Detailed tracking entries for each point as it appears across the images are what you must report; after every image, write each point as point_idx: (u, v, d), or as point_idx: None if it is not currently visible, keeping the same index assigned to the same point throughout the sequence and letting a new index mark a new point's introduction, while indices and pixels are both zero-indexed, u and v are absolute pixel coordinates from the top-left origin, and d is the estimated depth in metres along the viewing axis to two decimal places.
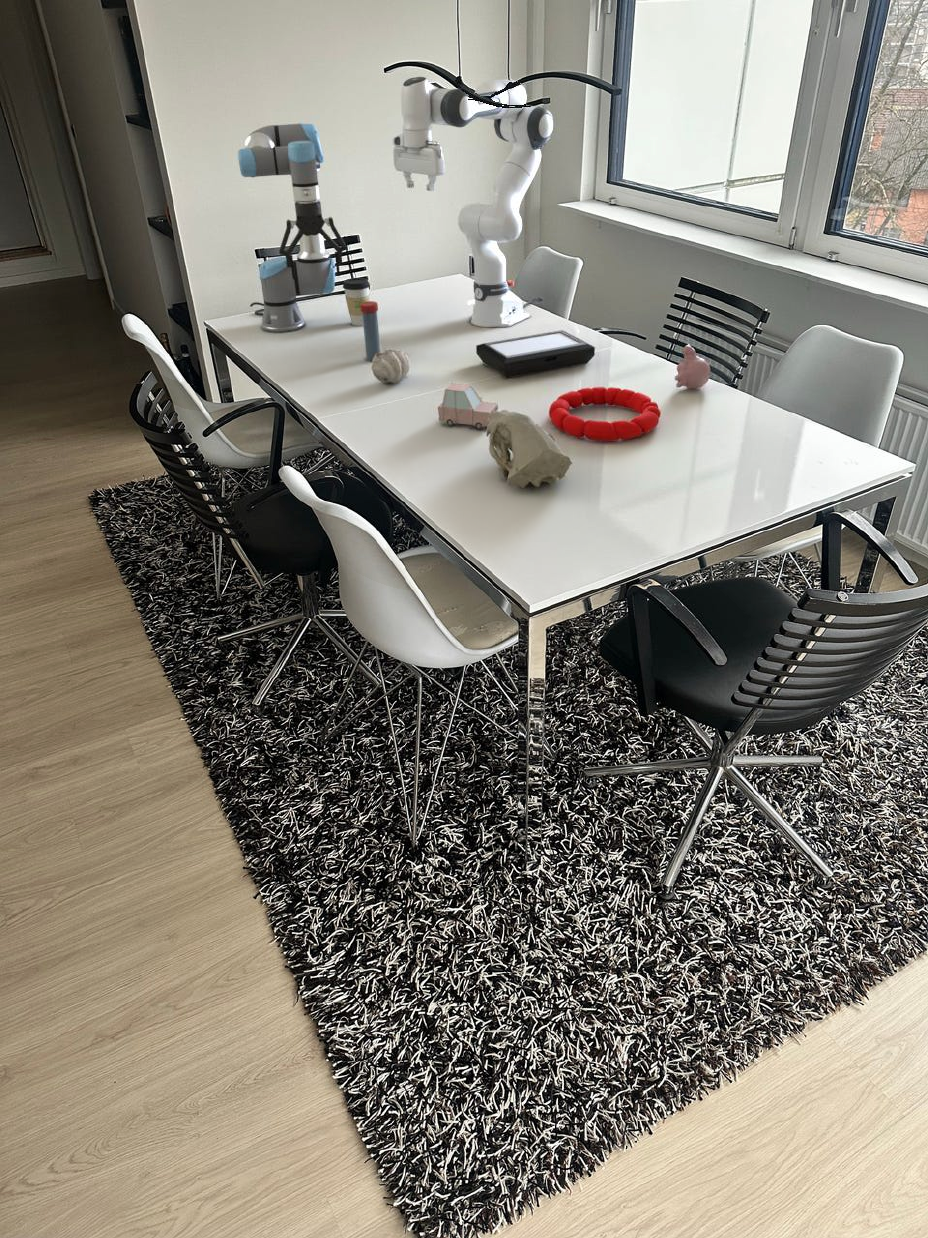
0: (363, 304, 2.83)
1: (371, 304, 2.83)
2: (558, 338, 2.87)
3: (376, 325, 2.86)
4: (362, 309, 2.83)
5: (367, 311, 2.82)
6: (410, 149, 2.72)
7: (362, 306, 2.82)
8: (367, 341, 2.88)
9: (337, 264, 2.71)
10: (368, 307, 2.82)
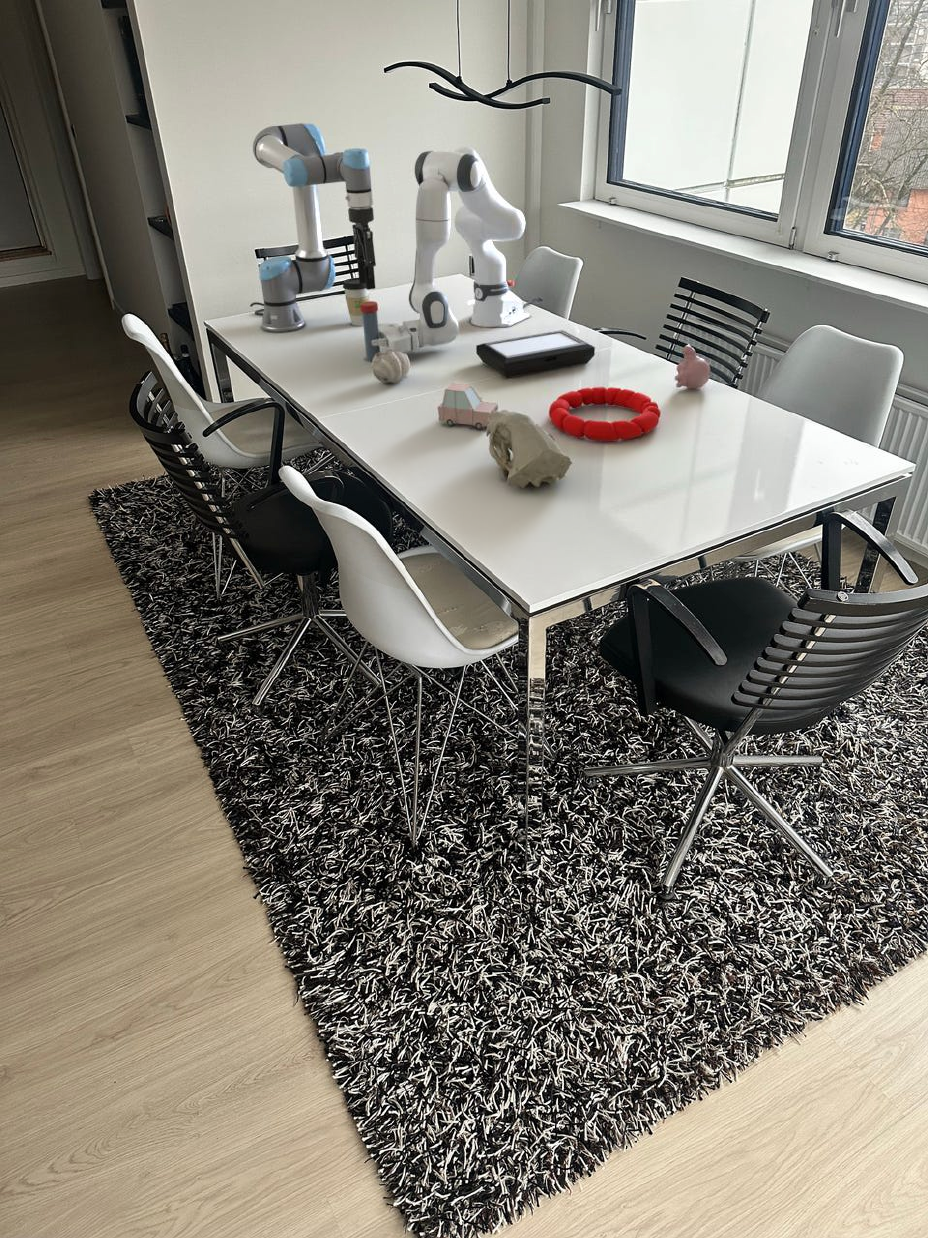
0: (363, 304, 2.83)
1: (371, 304, 2.83)
2: (558, 338, 2.87)
3: (376, 325, 2.86)
4: (362, 309, 2.83)
5: (367, 311, 2.82)
6: None
7: (362, 306, 2.82)
8: (367, 341, 2.88)
9: (365, 278, 2.75)
10: (368, 307, 2.82)
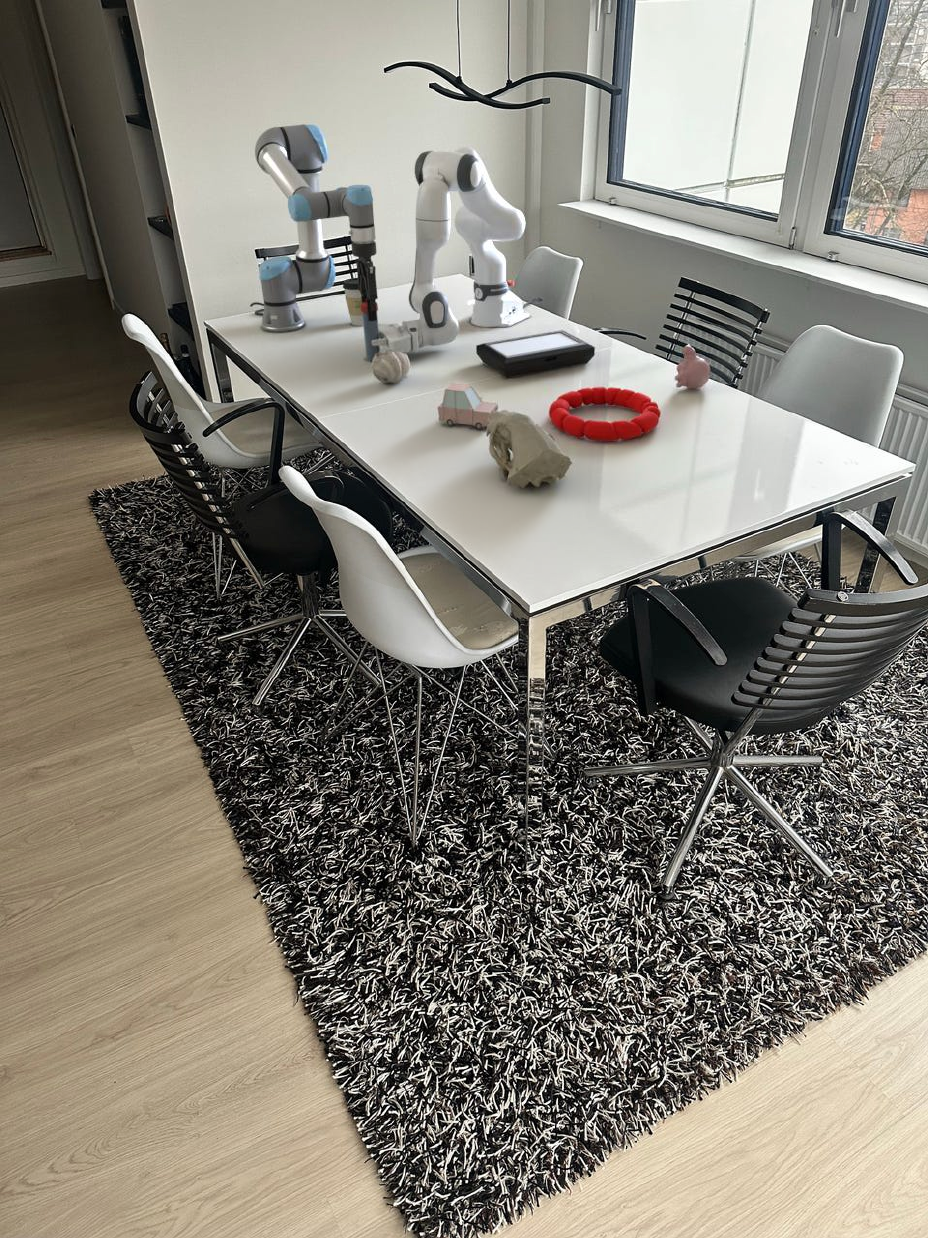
0: (363, 304, 2.83)
1: None
2: (558, 338, 2.87)
3: (376, 325, 2.86)
4: (362, 309, 2.83)
5: (367, 311, 2.82)
6: None
7: (362, 306, 2.82)
8: (367, 341, 2.88)
9: (367, 309, 2.82)
10: None
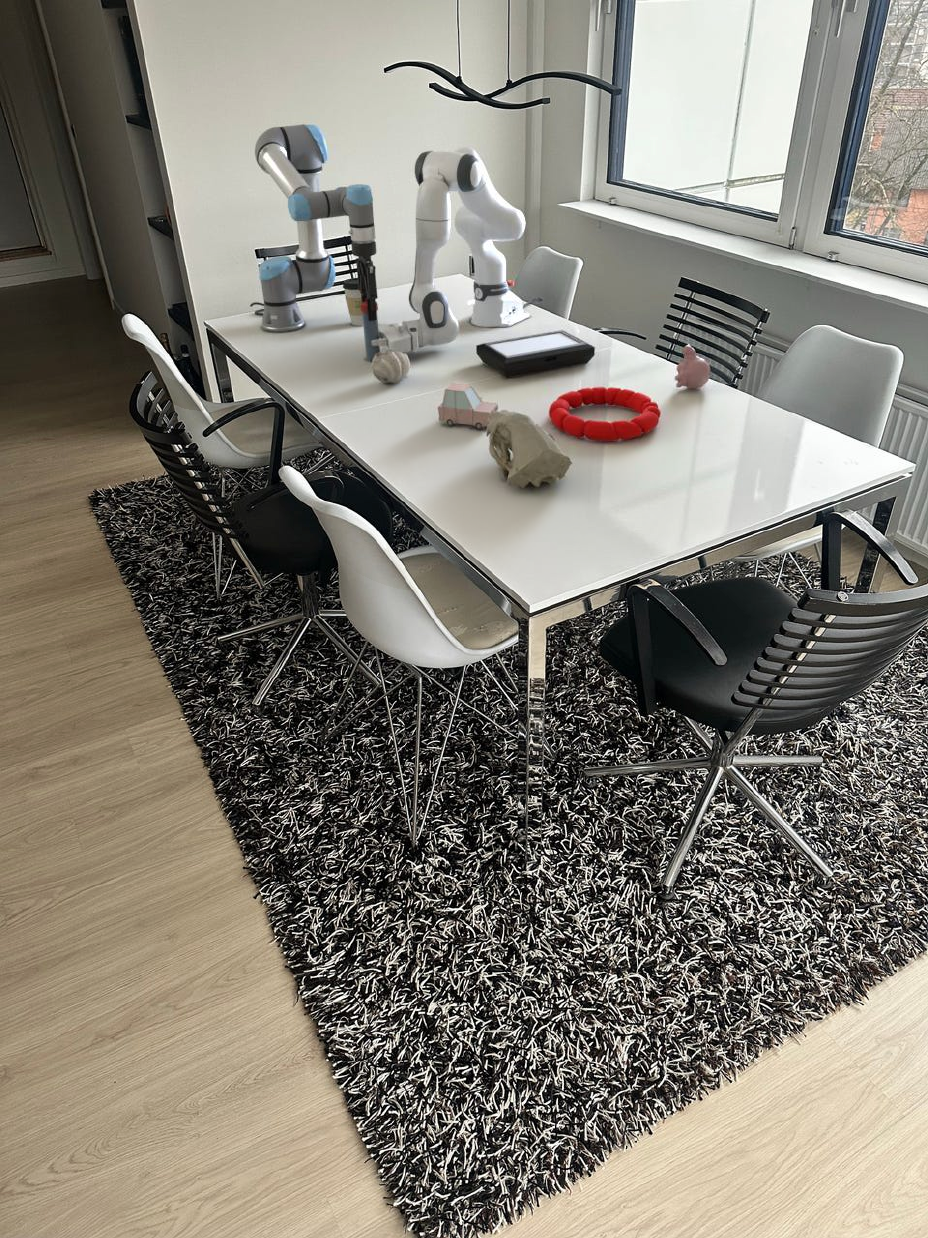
0: None
1: None
2: (558, 338, 2.87)
3: (376, 325, 2.86)
4: None
5: (377, 308, 2.84)
6: None
7: None
8: (367, 341, 2.88)
9: (367, 309, 2.81)
10: (377, 304, 2.84)
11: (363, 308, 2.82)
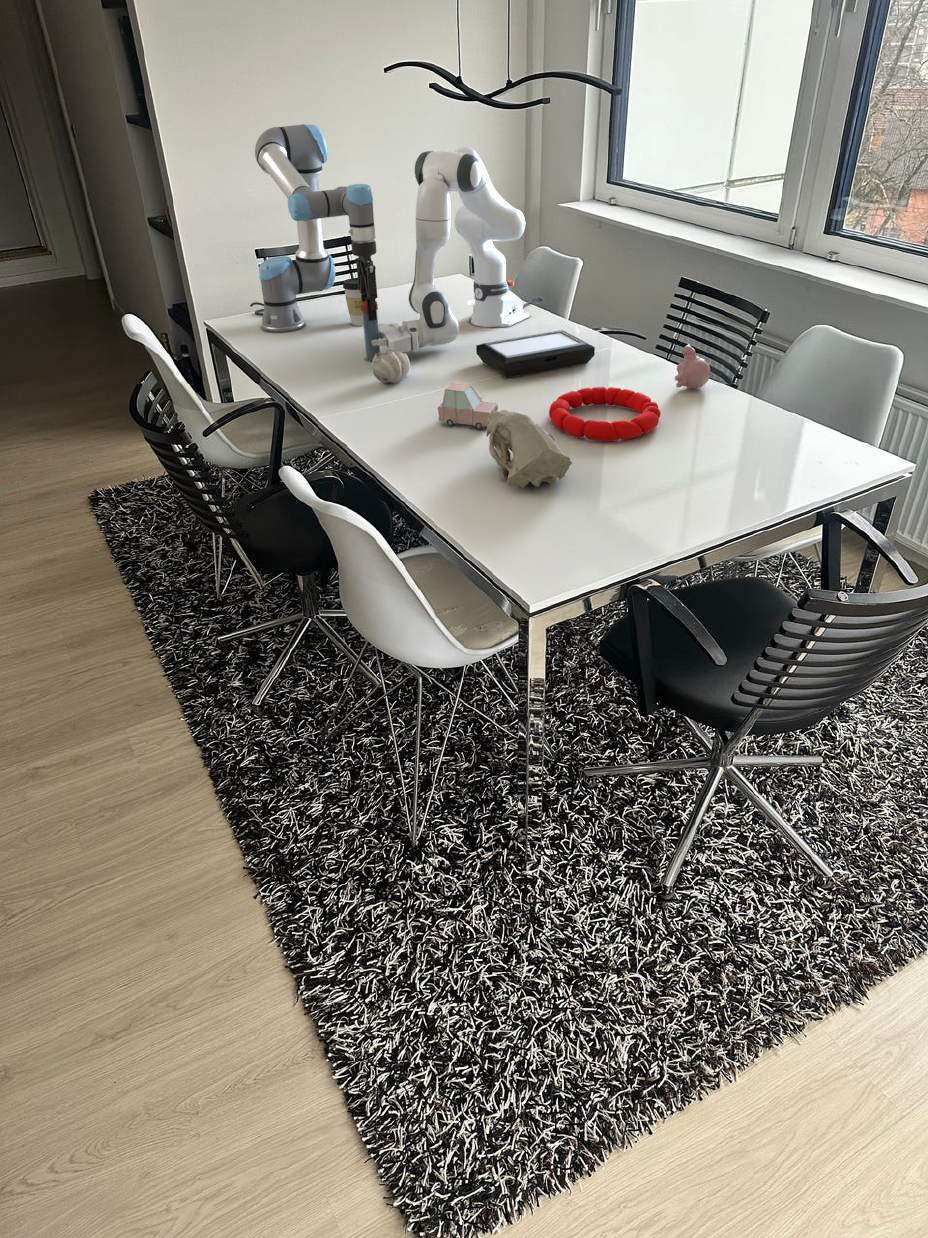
0: None
1: (365, 301, 2.84)
2: (558, 338, 2.87)
3: (376, 325, 2.86)
4: None
5: None
6: None
7: None
8: (367, 341, 2.88)
9: (367, 309, 2.81)
10: None
11: (376, 307, 2.83)
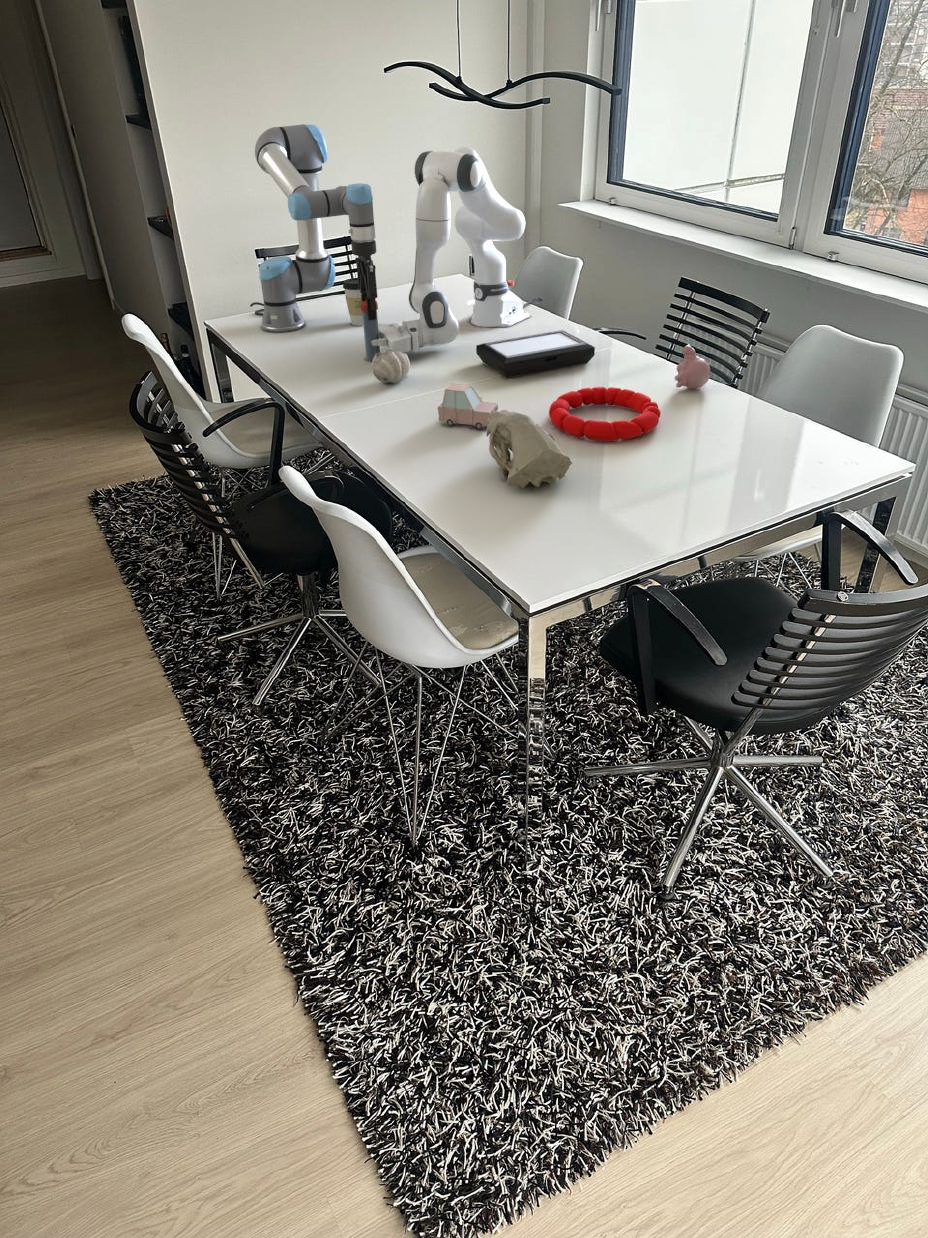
0: (364, 301, 2.84)
1: (365, 303, 2.82)
2: (558, 338, 2.87)
3: (376, 325, 2.86)
4: None
5: None
6: None
7: None
8: (367, 341, 2.88)
9: (367, 309, 2.81)
10: (360, 305, 2.83)
11: None
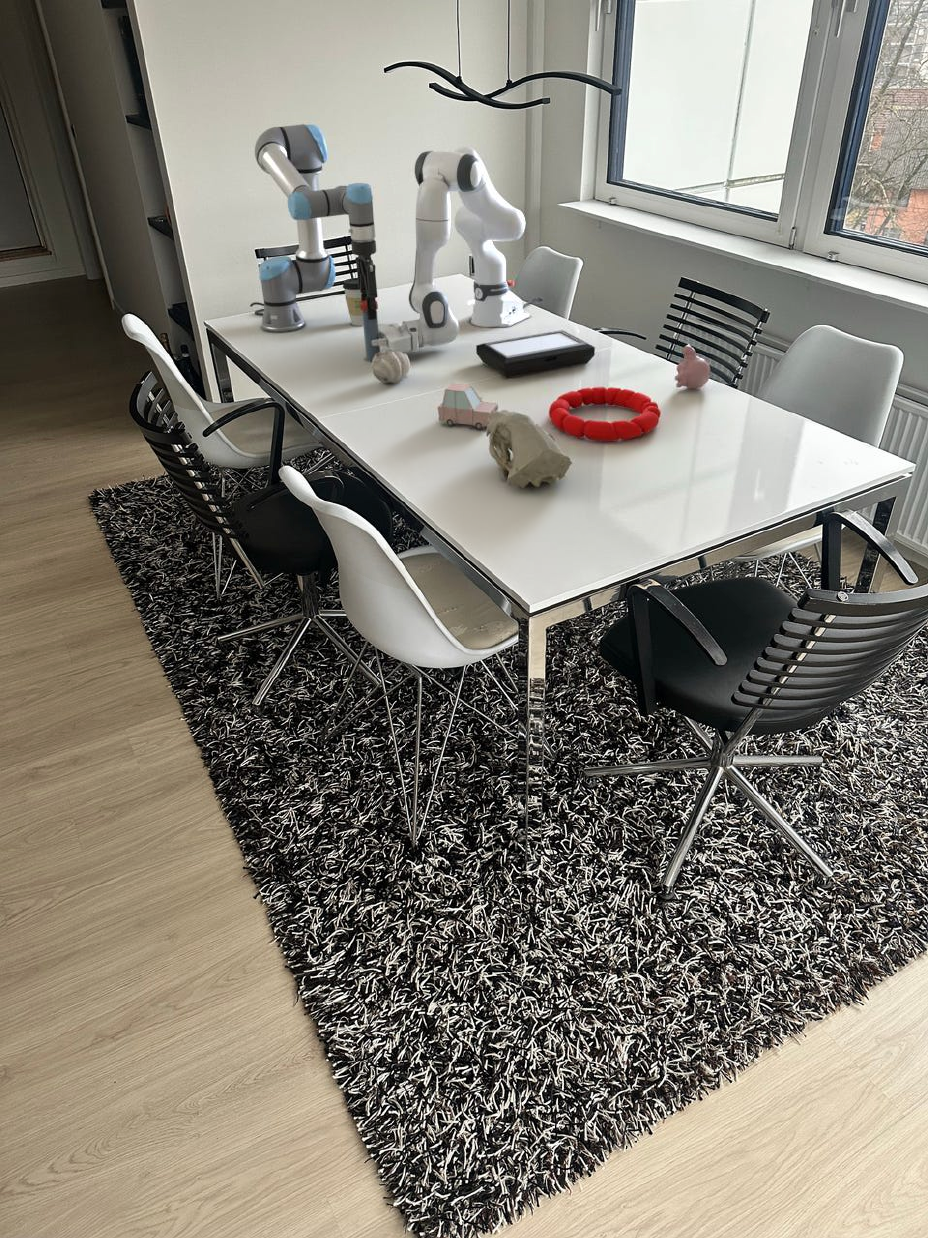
0: (364, 303, 2.82)
1: None
2: (558, 338, 2.87)
3: (376, 325, 2.86)
4: (364, 308, 2.82)
5: None
6: None
7: (364, 305, 2.81)
8: (367, 341, 2.88)
9: (367, 308, 2.81)
10: None
11: None
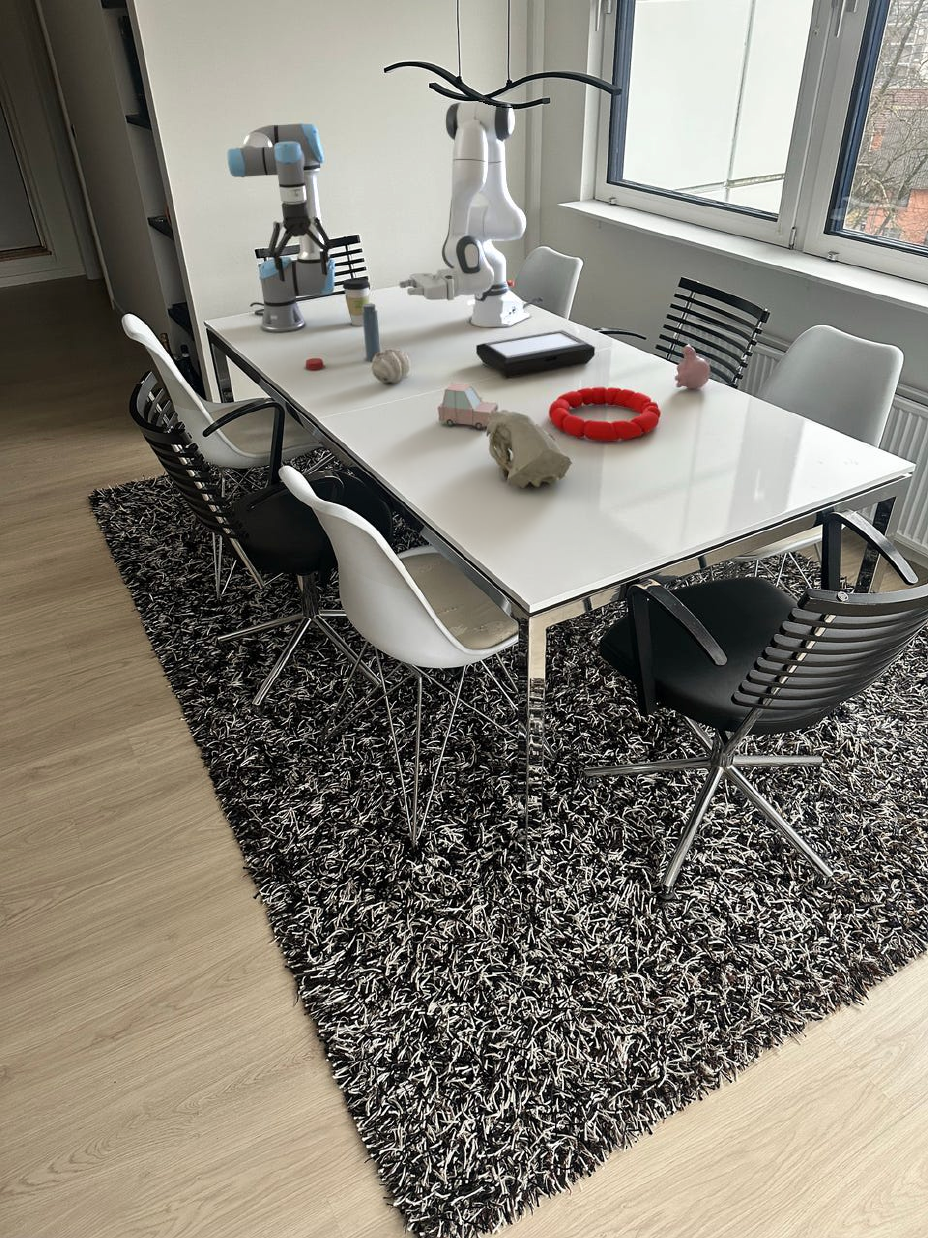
0: (317, 358, 2.88)
1: (309, 360, 2.87)
2: (558, 338, 2.87)
3: (376, 325, 2.86)
4: None
5: None
6: None
7: None
8: (367, 341, 2.88)
9: (324, 263, 2.72)
10: None
11: (322, 363, 2.87)
